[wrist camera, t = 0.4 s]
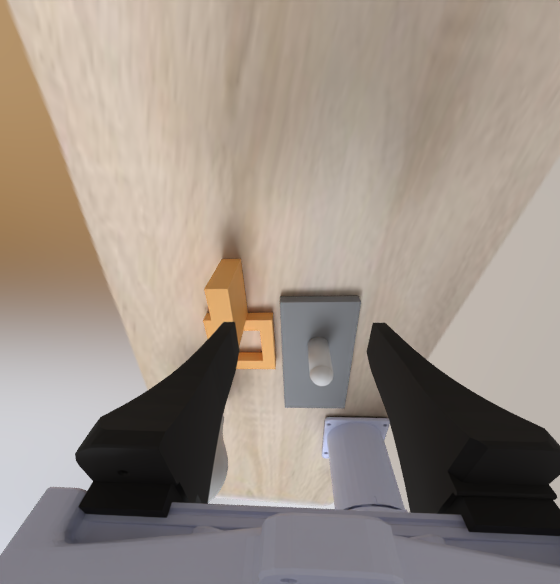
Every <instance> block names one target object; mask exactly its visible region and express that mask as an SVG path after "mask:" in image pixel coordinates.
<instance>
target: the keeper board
mask: <svg viewBox="0 0 560 584" xmlns="http://www.w3.org/2000/svg"><path fill="white" fill-rule="evenodd" d="M360 305H361V301H360V298H359V296H283V297H280V313H281V334H282V355H283V376H284V398H285V407H286V408H345V402H346V395H347V389H348V382H349V376H350V370H351V363H352V357H353V350H354V344H355V337H356V331H357V324H358V318H359V311H360Z"/></svg>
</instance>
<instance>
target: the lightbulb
mask: <svg viewBox="0 0 560 584" xmlns="http://www.w3.org/2000/svg"><path fill="white" fill-rule="evenodd" d="M224 409H225V408H224ZM223 413H224V412H223ZM223 423H224V416H222V421H221V427H220V432H219V437H218V443H217V448H216V454H215V460H214V466H213V472H212V478H211V485H210V492H209V499H208V503H209V502H210V501H211V500H212V499H213V498H214V497H215V496H216V495H217V493H218V492H219V491H220V489H221V487H222V486H223V484H224V481H225V478H226V475H227V470H228V457H227V453H226V448H225V444H224V441H223Z"/></svg>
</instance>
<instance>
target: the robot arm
mask: <svg viewBox="0 0 560 584" xmlns="http://www.w3.org/2000/svg"><path fill="white" fill-rule="evenodd" d="M367 355H368V360H369V364H370V368H371V372H372V374H373V377H374V380H375V382H376V385H377V388H378V390H379V393H380V396H381V398H382V401H383V403H384V406H385V409H386V412H387V415H388V418H389V419H387V418H351V417H327V418H326V419H325V425H324V436H323V447H322V457H323V458H329V461H330V470H331V479H332V487H333V496H334V504H335V509H316V508H315V509H314V508H293V507H270V506H247V505H245V506H244V505H224V504H208V499H209V492H210V485H211V478H212V472H213V466H214V460H215V454H216V448H217V443H218V437H219V432H220V427H221V421H222V416H223V412H224V408H225V404H226V401H227V398H228V395H229V391H230V388H231V385H232V381H233V378H234V374H235V371H236V367H237V362H238V356H239V345H238V338H237V331H236V325H235V322H223V323H222V324H221V325H220V326H219V328H218V329H217V330H216V331H215V332H214V333H213V334H212V335H211V337H210V338H209V339H208V340H207V341H206V342H205V343H204V344H203V345H202V346H201V347H200V348H199V349H198V350H197V351H196V352H195V353H194V354H193V355H192V356H191V357H190V358H189V359H188V360H187V361H186V362H185V363H184V364H183V365H182V366H180V367H179V368H178V369H177V370H176V371H174V372H173V373H172V374H171V375H169V376H168V377H166V378H165V379H164V380H162V381H161V382H159V383H158V384H157V385H155V386H154V387H152V388H151V389H149V390H148V391H146V392H145V393H143V394H142V395H140V396H138V397H137V398H135V399H133V400H132V401H130V402H128V403H126V404H125V405H123V406H121V407H119V408H117V409H115V410H113V411H112V412H110V413H108V414H106V415H104V416H102V417H100V419H99V420H98V421H97V423H96V424H95V425H94V427H93V428H92V430H91V431H90V432H89V434H88V435H87V437H86V438H85V440H84V441H83V443H82V444H81V446H80V447H79V448H78V450H77V452H76V453H75V456H76V461H77V463H78V464H79V466H80V467H81V468H82V469H83V470H84V471H85V473H86V474H87V475H88V476H89V477H90V478H91V479H92V480H93V483H92V484H91V486H90V488H89V489H88V491H86V490H83V489H80V488H64V487H50V488H48V489H47V490H46V492H45V493H44V494H43V496H42V497H41V498H40V500H39V501H38V503H37V504H36V506H35V507H34V508H33V510H32V511H31V513H30V514H29V515H28V517H27V518H26V520H25V521H24V523H23V524H22V525H21V527H20V528H19V530H18V531H17V532H16V534H15V535H14V537H13V538H12V540H11V541H10V542H9V544H8V546H7V547H6V548H5V550H4V551H3V553H2V554H1V555H0V584H560V509H559V508H558V506H557V505H556V503H555V502H554V501H553V500H555V499H556V498H557V495H556V494H555V492H554V491H553V490H552V488H551V487H550V486H549V483H551V482H552V481H553V480H554V479H555V478H557V477H558V476H559V475H560V445H559V444H558V443H557V442H556V441H555V440H554V439H553V437H552V436H551V435H550V434H549V433H548V432H547V431H546V430H545V429H544V428H542V427H540V426H538V425H536V424H534V423H532V422H529V421H527V420H525V419H523V418H521V417H519V416H517V415H514V414H513V413H510V412H509V411H507V410H505V409H503V408H501V407H499V406H497V405H495V404H493V403H491V402H490V401H488V400H486V399H484V398H483V397H481V396H479V395H477V394H476V393H474V392H472V391H471V390H469V389H467V388H466V387H464V386H463V385H461V384H459V383H458V382H456V381H455V380H453V379H452V378H450V377H449V376H448V375H446V374H445V373H443V372H442V371H440V370H439V369H438V368H436V367H435V366H434V365H432V364H431V363H430V362H429V361H427V360H426V359H425V358H424V357H422V356H421V355H420V354H419V353H418V352H416V351H415V350H414V349H413V348H412V347H411V346H410V345H408V344H407V343H406V342H405V341H404V340H403V339H402V338H401V337H400V336H399V335H398V334H397V333H395V332H394V331H393V330H392V329H391V328H390V327H389V326H388V325H387V324H386V323H373V325H372V329H371V334H370V339H369V344H368V348H367ZM389 424H390V425H391V428H392V432H393V436H394V440H395V444H396V448H397V452H398V456H399V460H400V465H401V469H402V473H403V478H404V482H405V487H406V492H407V497H408V502H409V507H410V512H411V513H408V512H407V510H405V508H404V505H403V502H402V499H401V495H400V492H399V488H398V485H397V482H396V479H395V475H394V472H393V469H392V466H391V462H390V459H389V456H388V452H387V449H386V446H385V443H384V439H385V436H386V433H387V430H388V427H389Z"/></svg>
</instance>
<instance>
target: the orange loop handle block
mask: <svg viewBox="0 0 560 584" xmlns="http://www.w3.org/2000/svg"><path fill="white" fill-rule="evenodd" d="M204 291H205V295H206V299H207V304H208V308H209V313H207V314H206V316H205V318H204V320H203V322H204V326H205V330H206V334H207V338H208V339H209V338H210V337H211V335H212V334H213V333H214V332H215V331H216V330H217V329H218V328H219V326H220V325H221V324H222V323H223V322H235V325H236V331H237V338H238V345H240V341H241V337H242V333H243V331H260V336H261V346H262V352H239V356H238V362H237V367H236V369H275V367H276V353H275V338H274V323H273V313H248V310H247V302H246V295H245V287H244V279H243V272H242V264H241V259H222V260H221V262H220V263H219V265H218V267H217V268H216V270H215V272H214V273H213V275H212V277H211V279H210V280H209V282H208V284H207V285H206V287H205V289H204Z"/></svg>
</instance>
